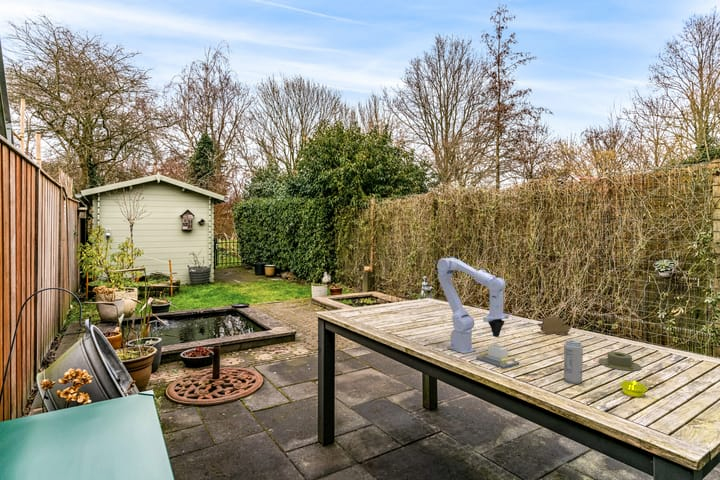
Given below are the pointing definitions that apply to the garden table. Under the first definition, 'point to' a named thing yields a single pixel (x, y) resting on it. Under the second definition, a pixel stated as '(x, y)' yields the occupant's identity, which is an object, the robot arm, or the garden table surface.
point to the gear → (633, 388)
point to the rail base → (498, 361)
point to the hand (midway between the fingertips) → (495, 336)
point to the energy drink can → (573, 361)
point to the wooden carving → (554, 325)
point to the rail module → (497, 352)
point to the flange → (620, 362)
